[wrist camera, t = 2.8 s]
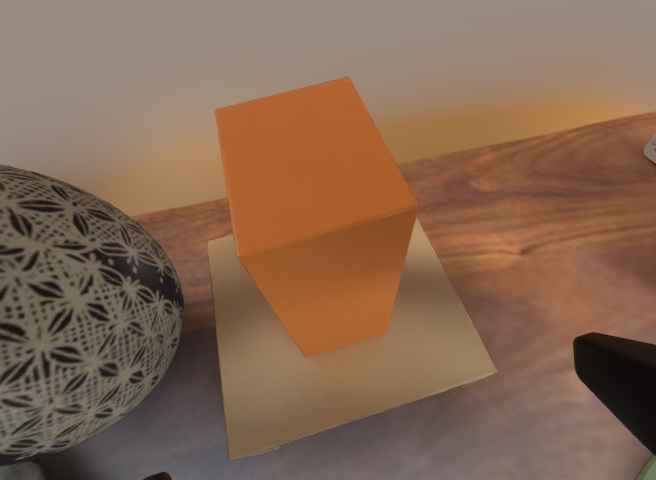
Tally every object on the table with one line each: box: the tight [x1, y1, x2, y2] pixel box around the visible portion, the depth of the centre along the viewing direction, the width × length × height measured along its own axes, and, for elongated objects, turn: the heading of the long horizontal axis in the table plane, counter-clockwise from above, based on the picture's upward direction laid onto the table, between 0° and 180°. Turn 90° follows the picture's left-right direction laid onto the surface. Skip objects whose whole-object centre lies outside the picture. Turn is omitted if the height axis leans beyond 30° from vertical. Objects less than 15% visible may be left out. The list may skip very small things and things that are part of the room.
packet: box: [215, 77, 419, 357], centre depth 12 cm, size 5×4×10 cm
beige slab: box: [207, 217, 497, 460], centre depth 19 cm, size 11×12×5 cm
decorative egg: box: [0, 165, 184, 467], centre depth 15 cm, size 12×12×15 cm
